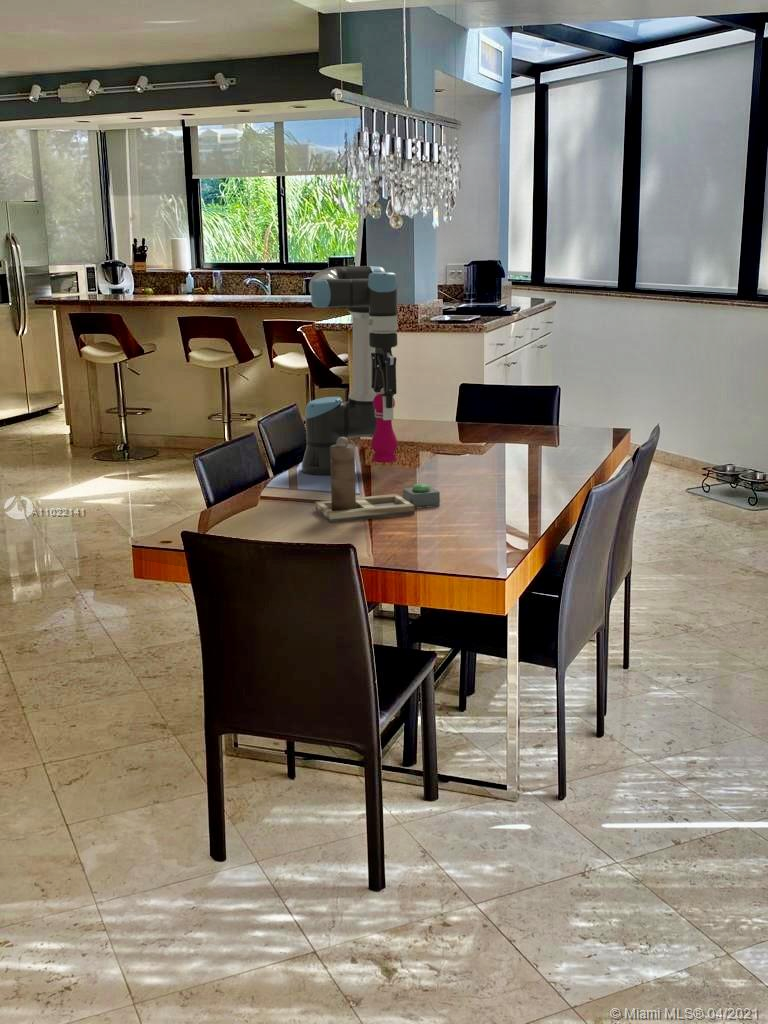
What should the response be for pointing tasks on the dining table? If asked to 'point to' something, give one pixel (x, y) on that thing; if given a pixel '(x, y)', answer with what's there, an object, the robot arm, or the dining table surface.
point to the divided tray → (367, 508)
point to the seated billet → (342, 475)
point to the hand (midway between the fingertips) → (384, 417)
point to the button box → (422, 497)
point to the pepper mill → (383, 434)
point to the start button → (421, 487)
